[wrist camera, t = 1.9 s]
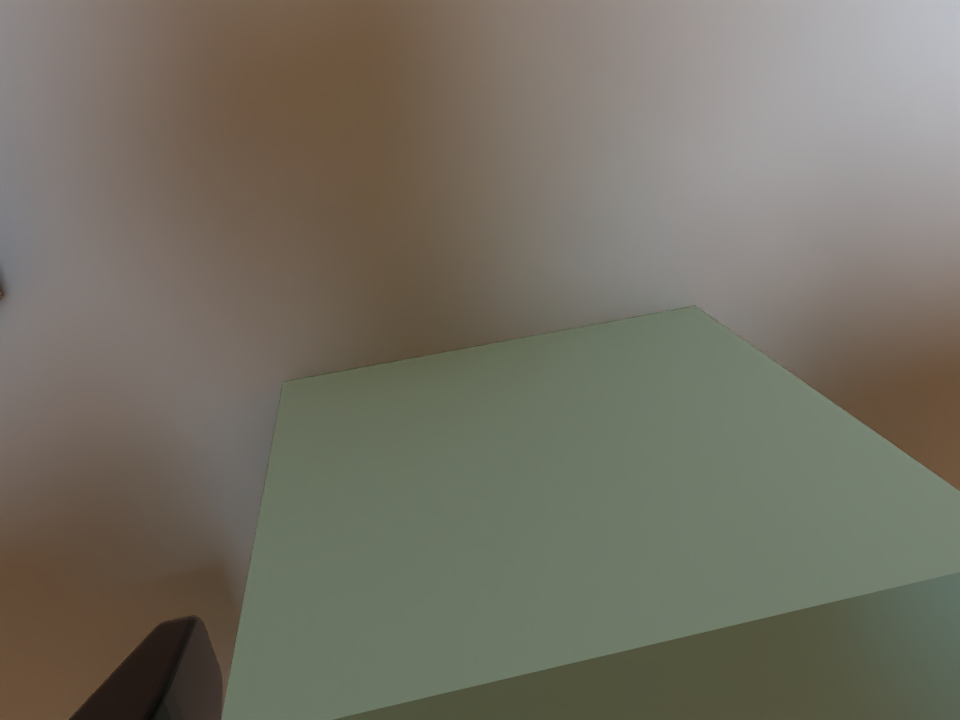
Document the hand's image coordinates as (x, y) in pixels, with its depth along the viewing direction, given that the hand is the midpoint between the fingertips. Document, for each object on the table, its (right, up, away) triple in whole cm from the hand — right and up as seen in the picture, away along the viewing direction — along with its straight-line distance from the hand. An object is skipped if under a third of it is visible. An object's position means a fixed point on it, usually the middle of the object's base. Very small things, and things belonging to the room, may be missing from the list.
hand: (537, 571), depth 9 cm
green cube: (0, 0, +1) cm, 1 cm away
